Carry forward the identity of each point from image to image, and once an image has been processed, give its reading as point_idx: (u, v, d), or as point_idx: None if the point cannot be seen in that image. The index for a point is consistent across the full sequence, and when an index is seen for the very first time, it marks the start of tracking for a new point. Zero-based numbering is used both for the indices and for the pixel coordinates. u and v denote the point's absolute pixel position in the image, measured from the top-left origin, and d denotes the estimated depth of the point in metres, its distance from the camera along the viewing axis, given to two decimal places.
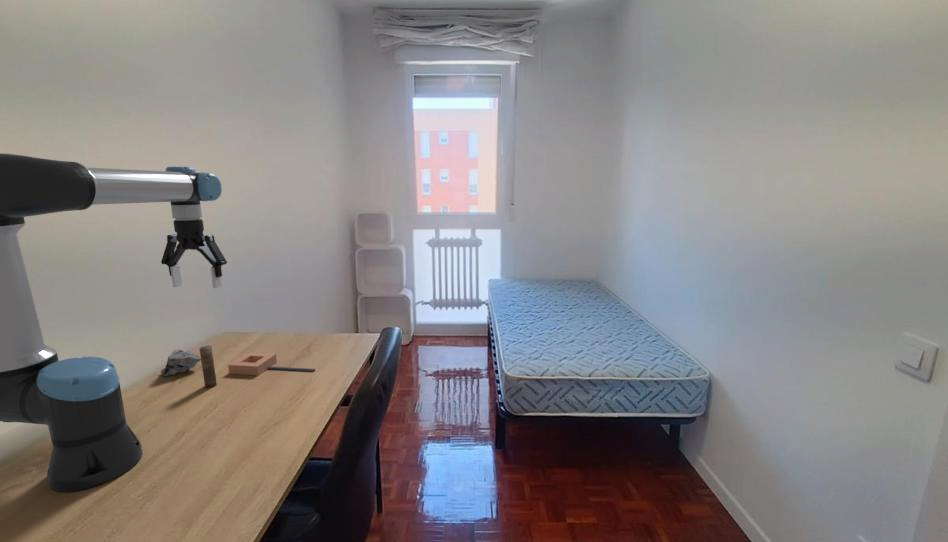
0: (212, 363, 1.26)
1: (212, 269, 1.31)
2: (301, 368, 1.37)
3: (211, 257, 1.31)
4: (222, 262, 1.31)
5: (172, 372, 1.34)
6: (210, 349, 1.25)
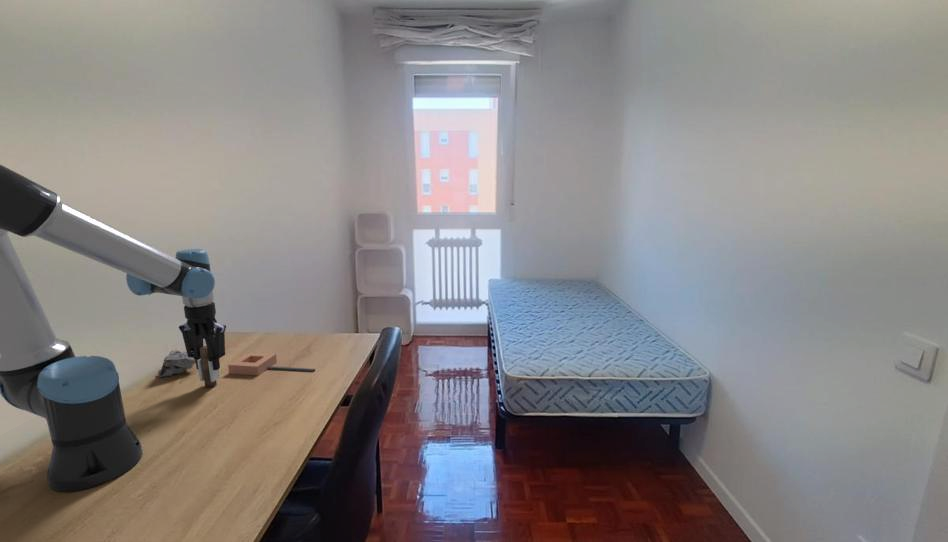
0: None
1: (209, 362, 1.24)
2: (301, 368, 1.37)
3: (213, 349, 1.24)
4: (220, 356, 1.24)
5: (169, 373, 1.33)
6: None
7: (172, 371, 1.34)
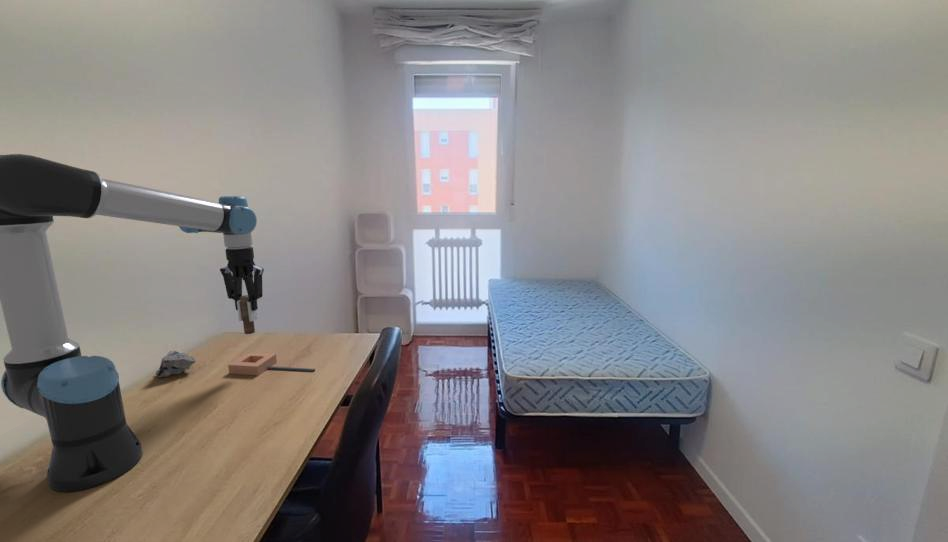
0: None
1: (248, 303, 1.33)
2: (301, 368, 1.37)
3: (251, 290, 1.33)
4: (258, 297, 1.33)
5: (166, 373, 1.33)
6: None
7: (170, 372, 1.33)
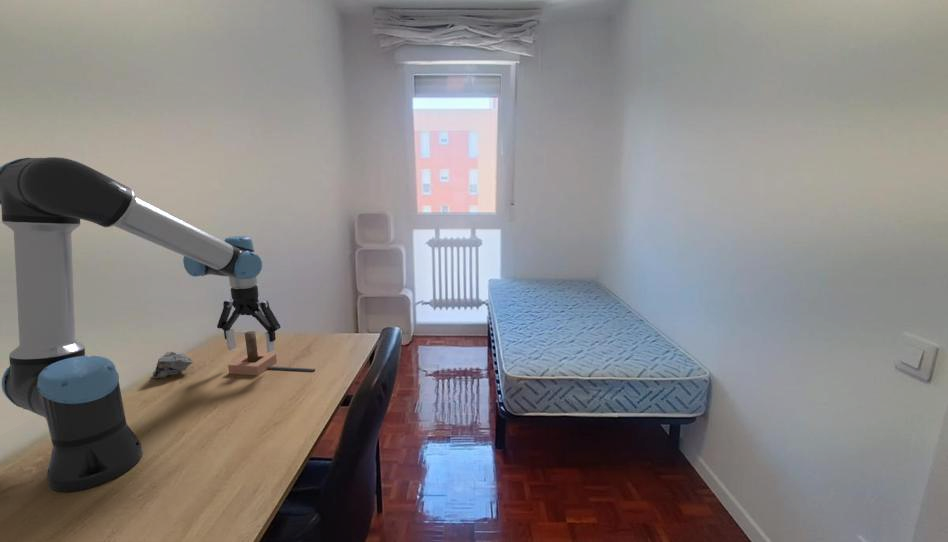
0: (256, 347, 1.38)
1: (267, 334, 1.35)
2: (301, 368, 1.37)
3: (266, 322, 1.35)
4: (276, 327, 1.35)
5: (163, 374, 1.32)
6: (254, 334, 1.37)
7: (166, 373, 1.33)
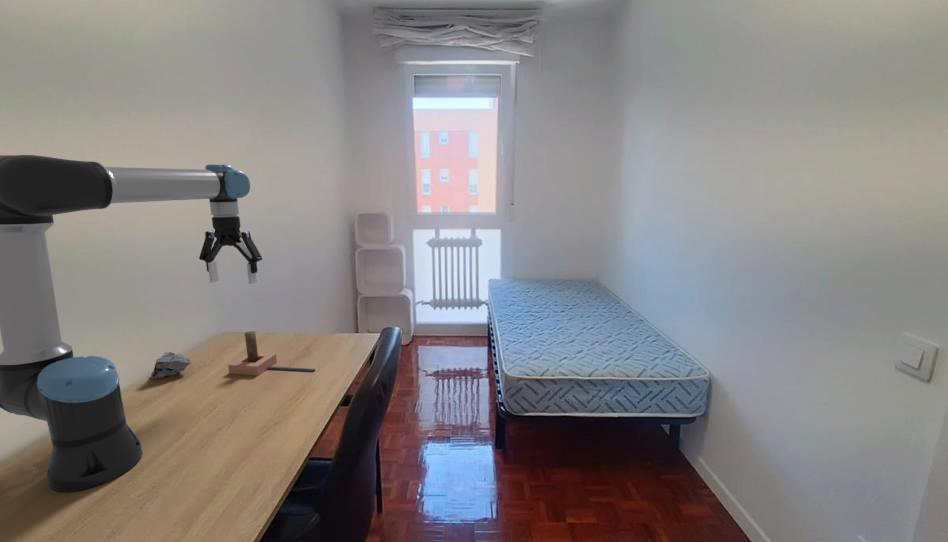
0: (256, 347, 1.38)
1: (248, 265, 1.33)
2: (301, 368, 1.37)
3: (247, 253, 1.33)
4: (258, 258, 1.33)
5: (161, 375, 1.32)
6: (254, 334, 1.37)
7: (164, 373, 1.32)
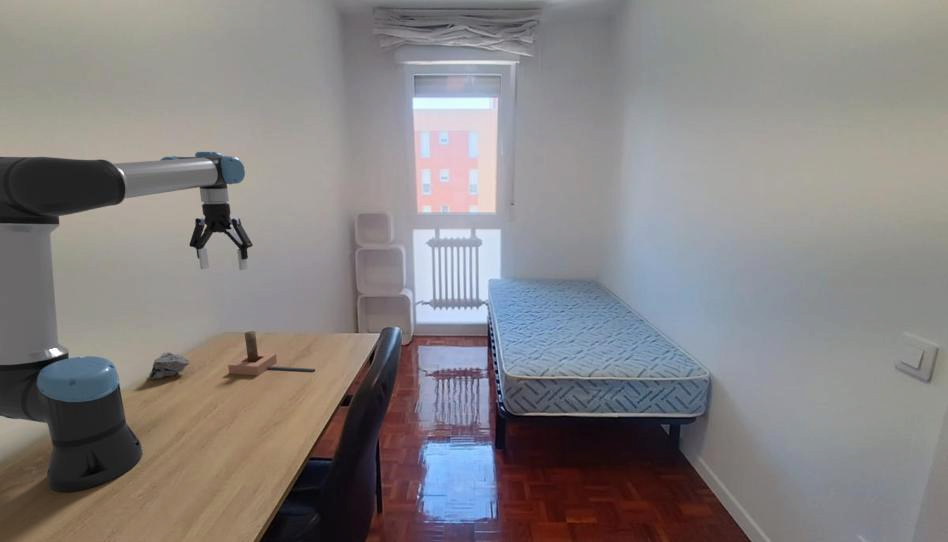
0: (256, 347, 1.38)
1: (238, 251, 1.35)
2: (301, 368, 1.37)
3: (238, 240, 1.36)
4: (248, 244, 1.35)
5: (159, 375, 1.31)
6: (254, 334, 1.37)
7: (163, 373, 1.32)
